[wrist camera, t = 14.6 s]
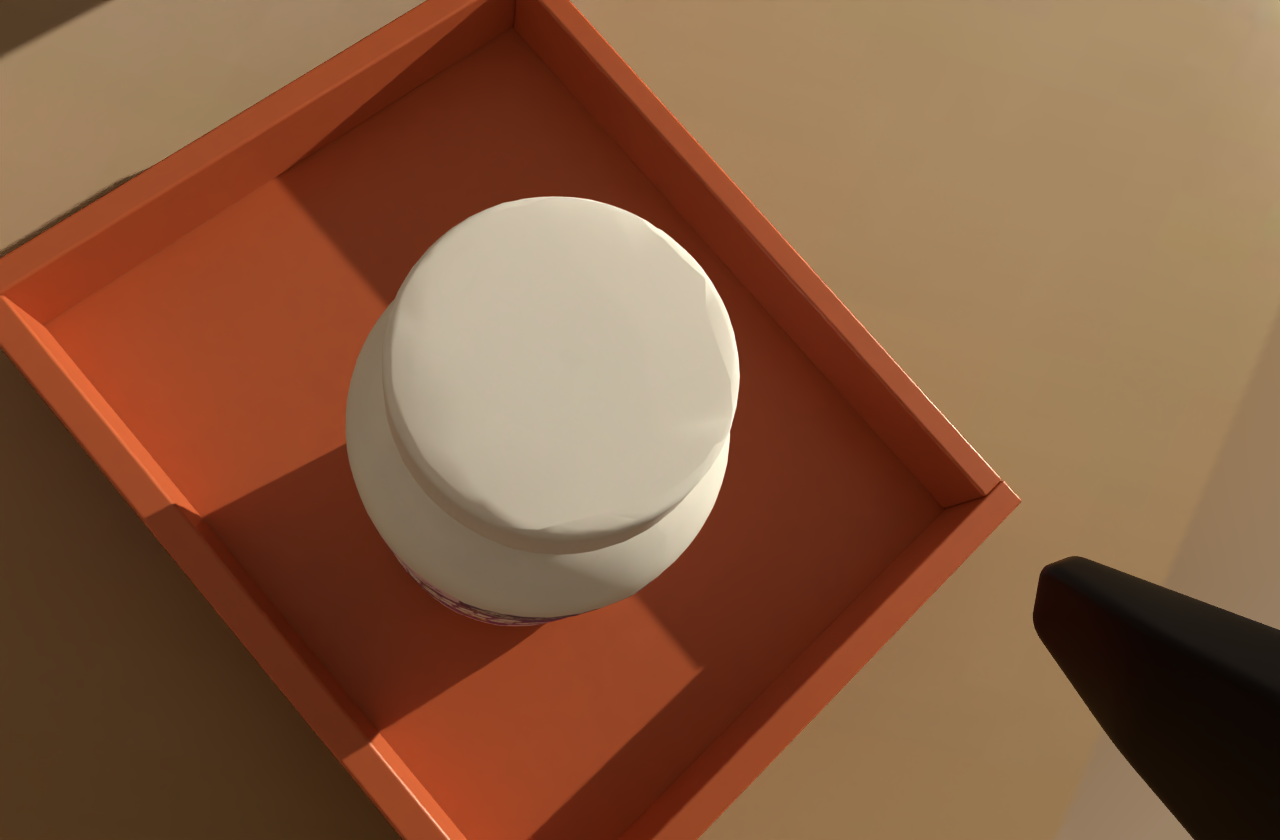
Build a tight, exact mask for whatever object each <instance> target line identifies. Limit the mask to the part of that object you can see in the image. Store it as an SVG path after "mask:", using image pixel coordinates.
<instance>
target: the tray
mask: <svg viewBox="0 0 1280 840" xmlns="http://www.w3.org/2000/svg"><path fill="white" fill-rule="evenodd" d="M535 197H575V198H582V199H590V200H594V201H598V202H602V203H606V204H609V205H612V206H615V207H617V208H620V209H623V210H626V211H628V212H630V213H633V214H635V215H637V216H639V217H640V218H642V219H644V220H646V221H648V222H649V223H651V224H652V225H653V226H655V227H656V228H658V229H660V230H662V231H663V232H665V233H666V234H667V235H669V236H670V237H671V238H672V239H673V240H674V241H676V242H677V243H678V244H679V245H680V246H681V247H683V248H684V249H685V250H686V251H687V252H688V253H689V254H690V255H691V256H692V257H693V258H694V259H695V260H696V262H697V263H698V264H699V265H700V266H701V267H702V269H703V270H704V271H705V273H706V274H707V276H708V277H709V279H710V280H711V282H712V283H713V285H714V287H715V289H716V291H717V292H718V294H719V296H720V298H721V299H722V301H723V303H724V305H725V308H726V310H727V313H728V315H729V318H730V322H731V325H732V328H733V331H734V335H735V341H736V346H737V351H738V357H739V372H740V379H739V391H738V399H737V406H736V410H735V414H734V418H733V422H732V426H731V429H730V443H729V452H728V461H727V466H726V470H725V474H724V478H723V482H722V485H721V488H720V491H719V493H718V496H717V499H716V501H715V504H714V506H713V508H712V510H711V512H710V514H709V516H708V518H707V519H706V521H705V523H704V525H703V526H702V528H701V530H700V531H699V533H698V534H697V536H696V537H695V538H694V540H693V541H692V542H691V544H690V545H689V546H688V547H687V549H686V550H685V551H684V552H683V553H682V554H681V555H680V556H679V557H678V558H677V559H676V561H675V562H674V563H672V564H671V565H670V566H669V567H668V568H667V569H666V570H664V571H663V572H662V573H661V574H660V575H659V576H658V577H657V578H656V579H654V580H653V581H652V582H651V583H649V584H648V585H647V586H645V587H644V588H642V589H641V590H640V591H638V592H637V593H635V594H634V595H632V596H630V597H628V598H626V599H623V600H621V601H618V602H616V603H613V604H610V605H608V606H605V607H603V608H600V609H597V610H593V611H590V612H586V613H583V614H580V615H577V616H572V617H567V618H564V619H561V620H556V621H552V622H548V623H544V624H539V625H533V626H499V625H493V624H489V623H485V622H481V621H478V620H474V619H472V618H468V617H466V616H464V615H461V614H459V613H456V612H454V611H453V610H451V609H449V608H448V607H446V606H444V605H443V604H441V603H440V602H439V601H437V600H436V599H434V598H433V597H432V596H431V595H430V594H429V593H428V592H426V591H425V590H424V589H423V588H422V587H421V586H420V585H419V584H418V583H417V582H416V581H415V580H414V579H413V578H412V577H411V576H410V575H409V574H408V573H407V571H406V570H405V569H404V567H403V566H402V565H401V563H400V562H399V561H398V559H397V558H396V556H395V555H394V554H393V552H392V551H391V550H390V548H389V546H388V545H387V544H386V543H385V541H384V540H383V538H382V537H381V535H380V534H379V532H378V530H377V529H376V527H375V526H374V524H373V522H372V520H371V519H370V517H369V515H368V513H367V511H366V509H365V507H364V505H363V502H362V500H361V497H360V495H359V492H358V489H357V487H356V484H355V481H354V478H353V474H352V471H351V467H350V463H349V458H348V453H347V445H346V434H345V433H346V406H347V396H348V391H349V387H350V382H351V378H352V374H353V371H354V368H355V365H356V361H357V358H358V356H359V354H360V351H361V349H362V347H363V345H364V343H365V341H366V339H367V337H368V335H369V333H370V331H371V330H372V328H373V327H374V325H375V324H376V322H377V320H378V319H379V318H380V316H381V315H382V314H383V312H384V311H385V310H386V308H387V307H388V306H389V304H390V303H391V302H392V301H393V300H394V299H395V297H396V295H397V292H398V291H399V289H400V287H401V285H402V283H403V282H404V280H405V278H406V277H407V275H408V273H409V272H410V270H411V269H412V267H413V266H414V265H415V264H416V263H417V261H418V260H419V259H420V258H421V257H422V255H423V254H424V253H425V252H426V251H427V249H428V248H429V247H430V246H431V245H433V244H434V243H435V242H436V241H437V240H438V239H439V238H440V237H441V236H442V235H444V234H445V233H446V232H447V231H449V230H450V229H451V228H453V227H454V226H456V225H458V224H459V223H461V222H462V221H464V220H465V219H467V218H468V217H470V216H473V215H475V214H477V213H479V212H481V211H484V210H486V209H488V208H491V207H494V206H496V205H499V204H501V203H505V202H511V201H516V200H520V199H526V198H535ZM0 348H1V349H2V350H3V352H4V353H5V354H6V355H7V356H8V358H9V359H10V360H11V361H12V363H13V364H14V365H15V366H16V367H17V369H18V370H19V371H20V372H21V374H22V375H23V376H24V377H25V378H26V380H27V381H28V382H29V383H30V385H31V386H32V387H33V388H34V389H35V391H36V392H37V393H38V394H39V396H40V397H41V398H42V399H43V400H44V402H45V403H46V404H47V405H48V407H49V408H50V409H51V410H52V411H53V413H54V414H55V415H56V416H57V418H58V419H59V420H60V421H61V422H62V424H63V425H64V426H65V427H66V429H67V430H68V431H69V432H70V433H71V435H72V436H73V437H74V438H75V440H76V441H77V442H78V443H79V444H80V446H81V447H82V448H83V449H84V451H85V452H86V453H87V454H88V455H89V457H90V458H91V459H92V460H93V462H94V463H95V464H96V465H97V466H98V468H99V469H100V470H101V471H102V473H103V474H104V475H105V476H106V477H107V479H108V480H109V481H110V482H111V484H112V485H113V486H114V487H115V488H116V490H117V491H118V492H119V493H120V495H121V496H122V497H123V498H124V499H125V501H126V502H127V503H128V504H129V506H130V507H131V508H132V509H133V510H134V512H135V513H136V514H137V515H138V517H139V518H140V519H141V520H142V521H143V523H144V524H145V525H146V526H147V528H148V529H149V530H150V531H151V532H152V534H153V535H154V536H155V537H156V539H157V540H158V541H159V542H160V543H161V545H162V546H163V547H164V548H165V550H166V551H167V552H168V553H169V555H170V556H171V557H172V558H173V559H174V561H175V562H176V563H177V564H178V566H179V567H180V568H181V569H182V570H183V572H184V573H185V574H186V575H187V577H188V578H189V579H190V580H191V581H192V583H193V584H194V585H195V586H196V588H197V589H198V590H199V591H200V592H201V594H202V595H203V596H204V597H205V599H206V600H207V601H208V602H209V603H210V605H211V606H212V607H213V608H214V610H215V611H216V612H217V613H218V614H219V616H220V617H221V618H222V619H223V621H224V622H225V623H226V624H227V625H228V627H229V628H230V629H231V630H232V632H233V633H234V634H235V635H236V636H237V638H238V639H239V640H240V641H241V643H242V644H243V645H244V646H245V647H246V649H247V650H248V651H249V652H250V654H251V655H252V656H253V657H254V658H255V660H256V661H257V662H258V663H259V665H260V666H261V667H262V668H263V669H264V671H265V672H266V673H267V674H268V676H269V677H270V678H271V679H272V680H273V682H274V683H275V684H276V685H277V687H278V688H279V689H280V690H281V691H282V693H283V694H284V695H285V696H286V698H287V699H288V700H289V701H290V702H291V704H292V705H293V706H294V707H295V709H296V710H297V711H298V712H299V713H300V715H301V716H302V717H303V718H304V720H305V721H306V722H307V723H308V724H309V726H310V727H311V728H312V729H313V731H314V732H315V733H316V734H317V735H318V737H319V738H320V739H321V740H322V742H323V743H324V744H325V745H326V746H327V748H328V749H329V750H330V751H331V753H332V754H333V755H334V756H335V758H336V759H337V760H338V761H339V762H340V764H341V765H342V766H343V767H344V769H345V770H346V771H347V772H348V773H349V775H350V776H351V777H352V778H353V780H354V781H355V782H356V783H357V784H358V786H359V787H360V788H361V789H362V791H363V792H364V793H365V794H366V795H367V797H368V798H369V799H370V800H371V802H372V803H373V804H374V805H375V806H376V808H377V809H378V810H379V811H380V813H381V814H382V815H383V816H384V817H385V819H386V820H387V821H388V822H389V824H390V825H391V826H392V827H393V828H394V830H395V831H396V832H397V833H398V835H399V836H400V837H401V838H402V839H403V840H697V839H698V838H699V837H700V836H701V835H702V834H703V833H704V832H705V831H706V830H707V829H708V828H709V827H710V826H711V825H712V823H713V822H714V821H715V820H716V819H717V818H718V817H719V816H720V815H721V814H722V813H723V812H724V811H725V810H726V809H727V808H728V807H729V806H730V805H731V804H732V803H733V802H734V801H735V800H736V798H737V797H738V796H739V795H740V794H741V793H742V792H743V791H744V790H745V789H746V788H747V787H748V786H749V785H750V784H751V783H752V782H753V781H754V780H755V779H756V778H757V777H758V776H759V775H760V773H761V772H762V771H763V770H764V769H765V768H766V767H767V766H768V765H769V764H770V763H771V762H772V761H773V760H774V759H775V758H776V757H777V756H778V755H779V754H780V753H781V752H782V751H783V750H784V748H785V747H786V746H787V745H788V744H789V743H790V742H791V741H792V740H793V739H794V738H795V737H796V736H797V735H798V734H799V733H800V732H801V731H802V730H803V729H804V728H805V727H806V726H807V725H808V724H809V722H810V721H811V720H812V719H813V718H814V717H815V716H816V715H817V714H818V713H819V712H820V711H821V710H822V709H823V708H824V707H825V706H826V705H827V704H828V703H829V702H830V701H831V700H832V699H833V697H834V696H835V695H836V694H837V693H838V692H839V691H840V690H841V689H842V688H843V687H844V686H845V685H846V684H847V683H848V682H849V681H850V680H851V679H852V678H853V677H854V676H855V675H856V674H857V672H858V671H859V670H860V669H861V668H862V667H863V666H864V665H865V664H866V663H867V662H868V661H869V660H870V659H871V658H872V657H873V656H874V655H875V654H876V653H877V652H878V651H879V650H880V649H881V647H882V646H883V645H884V644H885V643H886V642H887V641H888V640H889V639H890V638H891V637H892V636H893V635H894V634H895V633H896V632H897V631H898V630H899V629H900V628H901V627H902V626H903V625H904V624H905V622H906V621H907V620H908V619H909V618H910V617H911V616H912V615H913V614H914V613H915V612H916V611H917V610H918V609H919V608H920V607H921V606H922V605H923V604H924V603H925V602H926V601H927V600H928V599H929V597H930V596H931V595H932V594H933V593H934V592H935V591H936V590H937V589H938V588H939V587H940V586H941V585H942V584H943V583H944V582H945V581H946V580H947V579H948V578H949V577H950V576H951V575H952V574H953V573H954V571H955V570H956V569H957V568H958V567H959V566H960V565H961V564H962V563H963V562H964V561H965V560H966V559H967V558H968V557H969V556H970V555H971V554H972V553H973V552H974V551H975V550H976V549H977V548H978V546H979V545H980V544H981V543H982V542H983V541H984V540H985V539H986V538H987V537H988V536H989V535H990V534H991V533H992V532H993V531H994V530H995V529H996V528H997V527H998V526H999V525H1000V524H1001V523H1002V521H1003V520H1004V519H1005V518H1006V517H1007V516H1008V515H1009V514H1010V513H1011V512H1012V511H1013V510H1014V509H1015V508H1016V507H1017V506H1018V505H1019V504H1020V503H1021V499H1020V498H1019V497H1018V496H1017V495H1016V494H1015V493H1014V492H1013V491H1012V489H1011V488H1010V487H1009V486H1008V485H1007V484H1006V483H1005V482H1004V481H1000V480H1001V478H1000V477H999V476H998V475H997V473H996V472H995V471H994V470H993V469H992V468H991V467H990V466H989V465H988V463H987V462H986V461H985V460H984V459H983V458H982V457H981V456H980V455H979V453H978V452H977V451H976V450H975V449H974V448H973V447H972V446H971V445H970V444H969V442H968V441H967V440H966V439H965V438H964V437H963V436H962V435H961V434H960V432H959V431H958V430H957V429H956V428H955V427H954V426H953V425H952V424H951V422H950V421H949V420H948V419H947V418H946V417H945V416H944V415H943V414H942V412H941V411H940V410H939V409H938V408H937V407H936V406H935V405H934V404H933V403H932V401H931V400H930V399H929V398H928V397H927V396H926V395H925V394H924V393H923V391H922V390H921V389H920V388H919V387H918V386H917V385H916V384H915V383H914V381H913V380H912V379H911V378H910V377H909V376H908V375H907V374H906V373H905V371H904V370H903V369H902V368H901V367H900V366H899V365H898V364H897V363H896V362H895V360H894V359H893V358H892V357H891V356H890V355H889V354H888V353H887V352H886V350H885V349H884V348H883V347H882V346H881V345H880V344H879V343H878V342H877V340H876V339H875V338H874V337H873V336H872V335H871V334H870V333H869V332H868V330H867V329H866V328H865V327H864V326H863V325H862V324H861V323H860V322H859V320H858V319H857V318H856V317H855V316H854V315H853V314H852V313H851V312H850V311H849V309H848V308H847V307H846V306H845V305H844V304H843V303H842V302H841V301H840V299H839V298H838V297H837V296H836V295H835V294H834V293H833V292H832V291H831V289H830V288H829V287H828V286H827V285H826V284H825V283H824V282H823V281H822V279H821V278H820V277H819V276H818V275H817V274H816V273H815V272H814V271H813V270H812V268H811V267H810V266H809V265H808V264H807V263H806V262H805V261H804V260H803V258H802V257H801V256H800V255H799V254H798V253H797V252H796V251H795V250H794V248H793V247H792V246H791V245H790V244H789V243H788V242H787V241H786V240H785V238H784V237H783V236H782V235H781V234H780V233H779V232H778V231H777V230H776V229H775V227H774V226H773V225H772V224H771V223H770V222H769V221H768V220H767V219H766V217H765V216H764V215H763V214H762V213H761V212H760V211H759V210H758V209H757V207H756V206H755V205H754V204H753V203H752V202H751V201H750V200H749V199H748V197H747V196H746V195H745V194H744V193H743V192H742V191H741V190H740V189H739V187H738V186H737V185H736V184H735V183H734V182H733V181H732V180H731V179H730V178H729V176H728V175H727V174H726V173H725V172H724V171H723V170H722V169H721V168H720V166H719V165H718V164H717V163H716V162H715V161H714V160H713V159H712V158H711V156H710V155H709V154H708V153H707V152H706V151H705V150H704V149H703V148H702V146H701V145H700V144H699V143H698V142H697V141H696V140H695V139H694V138H693V137H692V135H691V134H690V133H689V132H688V131H687V130H686V129H685V128H684V127H683V125H682V124H681V123H680V122H679V121H678V120H677V119H676V118H675V117H674V115H673V114H672V113H671V112H670V111H669V110H668V109H667V108H666V107H665V105H664V104H663V103H662V102H661V101H660V100H659V99H658V98H657V97H656V96H655V94H654V93H653V92H652V91H651V90H650V89H649V88H648V87H647V86H646V84H645V83H644V82H643V81H642V80H641V79H640V78H639V77H638V76H637V74H636V73H635V72H634V71H633V70H632V69H631V68H630V67H629V66H628V64H627V63H626V62H625V61H624V60H623V59H622V58H621V57H620V56H619V54H618V53H617V52H616V51H615V50H614V49H613V48H612V47H611V46H610V45H609V43H608V42H607V41H606V40H605V39H604V38H603V37H602V36H601V35H600V33H599V32H598V31H597V30H596V29H595V28H594V27H593V26H592V25H591V23H590V22H589V21H588V20H587V19H586V18H585V17H584V16H583V15H582V13H581V12H580V11H579V10H578V9H577V8H576V7H575V6H574V5H573V4H572V2H571V1H570V0H427V1H425V2H423V3H422V4H420V5H418V6H417V7H415V8H413V9H412V10H410V11H408V12H407V13H405V14H403V15H402V16H400V17H398V18H397V19H395V20H393V21H392V22H390V23H389V24H387V25H385V26H384V27H382V28H380V29H379V30H377V31H375V32H374V33H372V34H370V35H369V36H367V37H365V38H364V39H362V40H360V41H359V42H357V43H355V44H354V45H352V46H350V47H349V48H347V49H346V50H344V51H342V52H341V53H339V54H337V55H336V56H334V57H332V58H331V59H329V60H327V61H326V62H324V63H322V64H321V65H319V66H317V67H316V68H314V69H312V70H311V71H309V72H307V73H306V74H304V75H303V76H301V77H299V78H298V79H296V80H294V81H293V82H291V83H289V84H288V85H286V86H284V87H283V88H281V89H279V90H278V91H276V92H274V93H273V94H271V95H269V96H268V97H266V98H264V99H263V100H261V101H260V102H258V103H256V104H255V105H253V106H251V107H250V108H248V109H246V110H245V111H243V112H241V113H240V114H238V115H236V116H235V117H233V118H231V119H230V120H228V121H226V122H225V123H223V124H221V125H220V126H218V127H217V128H215V129H213V130H212V131H210V132H208V133H207V134H205V135H203V136H202V137H200V138H198V139H197V140H195V141H193V142H192V143H190V144H188V145H187V146H185V147H183V148H182V149H180V150H178V151H177V152H175V153H174V154H172V155H170V156H169V157H167V158H165V159H164V160H162V161H160V162H159V163H157V164H155V165H154V166H152V167H150V168H149V169H147V170H145V171H144V172H142V173H140V174H139V175H137V176H135V177H134V178H132V179H131V180H129V181H127V182H126V183H124V184H122V185H121V186H119V187H117V188H116V189H114V190H112V191H111V192H109V193H107V194H106V195H104V196H102V197H101V198H99V199H97V200H96V201H94V202H92V203H91V204H89V205H88V206H86V207H84V208H83V209H81V210H79V211H78V212H76V213H74V214H73V215H71V216H69V217H68V218H66V219H64V220H63V221H61V222H59V223H58V224H56V225H54V226H53V227H51V228H49V229H48V230H46V231H45V232H43V233H41V234H40V235H38V236H36V237H35V238H33V239H31V240H30V241H28V242H26V243H25V244H23V245H21V246H20V247H18V248H16V249H15V250H13V251H11V252H10V253H8V254H6V255H5V256H3V257H2V258H0Z"/></svg>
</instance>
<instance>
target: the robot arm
mask: <svg viewBox="0 0 1280 840" xmlns="http://www.w3.org/2000/svg"><path fill="white" fill-rule="evenodd" d="M1033 623H1034V626H1035V630H1036V632H1037V634H1038V636H1039V638H1040V639H1041V641H1042V642H1043V644H1044V645H1045V646H1046V648H1047V649H1048V651H1049V652H1050V654H1051V655H1052V656H1053V658H1054V659H1055V661H1056V662H1057V664H1058V665H1059V666H1060V668H1061V669H1062V671H1063V672H1064V674H1065V675H1066V677H1067V678H1068V679H1069V681H1070V682H1071V684H1072V685H1073V687H1074V688H1075V689H1076V691H1077V692H1078V694H1079V695H1080V697H1081V698H1082V699H1083V701H1084V702H1085V704H1086V705H1087V707H1088V708H1089V710H1090V711H1091V712H1092V714H1093V715H1094V717H1095V718H1096V720H1097V721H1098V722H1099V724H1100V725H1101V727H1102V728H1103V730H1104V731H1105V732H1106V734H1107V735H1108V736H1109V738H1110V739H1111V740H1112V742H1113V743H1114V744H1115V746H1116V747H1117V748H1118V749H1119V751H1120V752H1121V753H1122V755H1123V756H1124V757H1125V758H1126V759H1127V761H1128V762H1129V763H1130V764H1131V766H1132V767H1133V768H1134V769H1135V770H1136V772H1137V773H1138V774H1139V775H1140V776H1141V777H1142V779H1143V780H1144V781H1145V782H1146V783H1147V784H1148V786H1149V787H1150V788H1151V789H1152V790H1153V792H1154V793H1155V794H1156V795H1157V796H1158V797H1159V799H1160V800H1161V801H1162V802H1163V803H1164V804H1165V806H1166V807H1167V808H1168V809H1169V810H1170V812H1171V813H1172V814H1173V815H1174V816H1175V817H1176V819H1177V820H1178V821H1179V822H1180V823H1181V824H1182V826H1183V827H1184V828H1185V829H1186V830H1187V832H1188V833H1189V834H1190V835H1191V836H1192V838H1193V839H1194V840H1280V630H1278V629H1275V628H1272V627H1270V626H1267V625H1264V624H1262V623H1259V622H1256V621H1253V620H1251V619H1248V618H1245V617H1243V616H1240V615H1237V614H1235V613H1232V612H1229V611H1226V610H1224V609H1221V608H1218V607H1215V606H1213V605H1210V604H1207V603H1205V602H1202V601H1199V600H1197V599H1194V598H1191V597H1189V596H1186V595H1183V594H1180V593H1178V592H1175V591H1172V590H1169V589H1167V588H1164V587H1162V586H1159V585H1156V584H1154V583H1151V582H1148V581H1146V580H1143V579H1140V578H1137V577H1135V576H1132V575H1129V574H1127V573H1124V572H1121V571H1119V570H1116V569H1113V568H1110V567H1108V566H1105V565H1102V564H1100V563H1097V562H1094V561H1092V560H1089V559H1086V558H1083V557H1078V556H1072V557H1067V558H1065V559H1062V560H1059V561H1057V562H1054V563H1051V564H1049V565H1047V566H1045V567H1044V568H1043V570H1042V571H1041V573H1040V577H1039V582H1038V588H1037V594H1036V599H1035V605H1034V611H1033Z"/></svg>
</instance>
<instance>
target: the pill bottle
mask: <svg viewBox="0 0 1280 840" xmlns="http://www.w3.org/2000/svg"><path fill="white" fill-rule="evenodd" d="M739 379H740V372H739V357H738V351H737V346H736V341H735V335H734V331H733V328H732V325H731V322H730V318H729V315H728V313H727V310H726V308H725V305H724V303H723V301H722V299H721V298H720V296H719V294H718V292H717V291H716V289H715V287H714V285H713V283H712V282H711V280H710V279H709V277H708V276H707V274H706V273H705V271H704V270H703V269H702V267H701V266H700V265H699V264H698V263H697V262H696V260H695V259H694V258H693V257H692V256H691V255H690V254H689V253H688V252H687V251H686V250H685V249H684V248H683V247H681V246H680V245H679V244H678V243H677V242H676V241H674V240H673V239H672V238H671V237H670V236H669V235H667V234H666V233H665V232H663V231H662V230H660V229H658V228H656V227H655V226H653V225H652V224H651V223H649V222H648V221H646V220H644V219H642V218H640V217H639V216H637V215H635V214H633V213H630V212H628V211H626V210H623V209H620V208H617V207H615V206H612V205H609V204H606V203H602V202H598V201H594V200H590V199H582V198H575V197H535V198H526V199H520V200H516V201H511V202H505V203H501V204H499V205H496V206H494V207H491V208H488V209H486V210H484V211H481V212H479V213H477V214H475V215H473V216H470V217H468V218H467V219H465V220H464V221H462V222H461V223H459V224H458V225H456V226H454V227H453V228H451V229H450V230H449V231H447V232H446V233H445V234H444V235H442V236H441V237H440V238H439V239H438V240H437V241H436V242H435V243H434V244H433V245H431V246H430V247H429V248H428V249H427V251H426V252H425V253H424V254H423V255H422V257H421V258H420V259H419V260H418V261H417V263H416V264H415V265H414V266H413V267H412V269H411V270H410V272H409V273H408V275H407V277H406V278H405V280H404V282H403V283H402V285H401V287H400V289H399V291H398V292H397V295H396V297H395V299H394V300H393V301H392V302H391V303H390V304H389V306H388V307H387V308H386V310H385V311H384V312H383V314H382V315H381V316H380V318H379V319H378V320H377V322H376V324H375V325H374V327H373V328H372V330H371V331H370V333H369V335H368V337H367V339H366V341H365V343H364V345H363V347H362V349H361V351H360V354H359V356H358V358H357V361H356V365H355V368H354V371H353V374H352V378H351V382H350V387H349V391H348V396H347V406H346V433H345V434H346V445H347V453H348V458H349V463H350V467H351V471H352V474H353V478H354V481H355V484H356V487H357V489H358V492H359V495H360V497H361V500H362V502H363V505H364V507H365V509H366V511H367V513H368V515H369V517H370V519H371V520H372V522H373V524H374V526H375V527H376V529H377V530H378V532H379V534H380V535H381V537H382V538H383V540H384V541H385V543H386V544H387V545H388V546H389V548H390V550H391V551H392V552H393V554H394V555H395V556H396V558H397V559H398V561H399V562H400V563H401V565H402V566H403V567H404V569H405V570H406V571H407V573H408V574H409V575H410V576H411V577H412V578H413V579H414V580H415V581H416V582H417V583H418V584H419V585H420V586H421V587H422V588H423V589H424V590H425V591H426V592H428V593H429V594H430V595H431V596H432V597H433V598H434V599H436V600H437V601H439V602H440V603H441V604H443V605H444V606H446V607H448V608H449V609H451V610H453V611H454V612H456V613H459V614H461V615H464V616H466V617H468V618H472V619H474V620H478V621H481V622H485V623H489V624H493V625H499V626H533V625H539V624H544V623H548V622H552V621H556V620H561V619H564V618H567V617H572V616H577V615H580V614H583V613H586V612H590V611H593V610H597V609H600V608H603V607H605V606H608V605H610V604H613V603H616V602H618V601H621V600H623V599H626V598H628V597H630V596H632V595H634V594H635V593H637V592H638V591H640V590H641V589H642V588H644V587H645V586H647V585H648V584H649V583H651V582H652V581H653V580H654V579H656V578H657V577H658V576H659V575H660V574H661V573H662V572H663V571H664V570H666V569H667V568H668V567H669V566H670V565H671V564H672V563H674V562H675V561H676V559H677V558H678V557H679V556H680V555H681V554H682V553H683V552H684V551H685V550H686V549H687V547H688V546H689V545H690V544H691V542H692V541H693V540H694V538H695V537H696V536H697V534H698V533H699V531H700V530H701V528H702V526H703V525H704V523H705V521H706V519H707V518H708V516H709V514H710V512H711V510H712V508H713V506H714V504H715V501H716V499H717V496H718V493H719V491H720V488H721V485H722V482H723V478H724V474H725V470H726V466H727V461H728V452H729V443H730V429H731V426H732V422H733V418H734V414H735V410H736V406H737V399H738V391H739Z"/></svg>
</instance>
